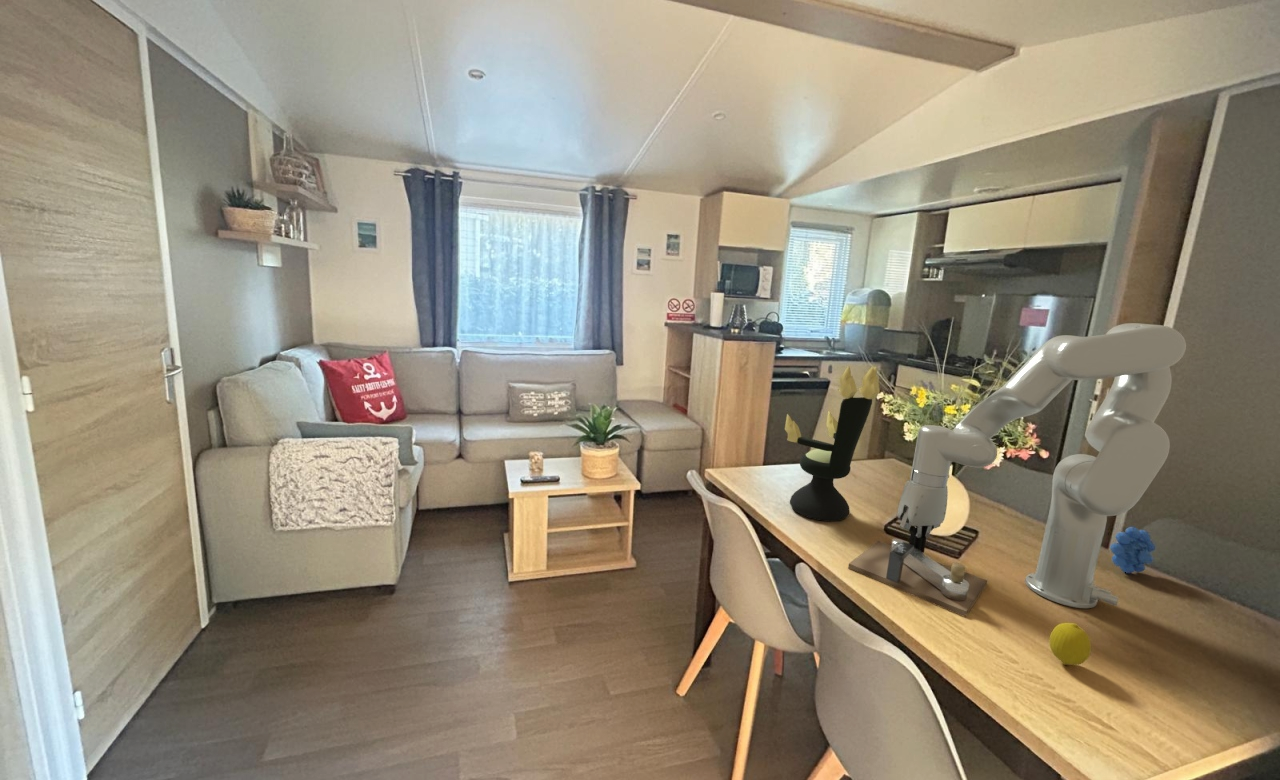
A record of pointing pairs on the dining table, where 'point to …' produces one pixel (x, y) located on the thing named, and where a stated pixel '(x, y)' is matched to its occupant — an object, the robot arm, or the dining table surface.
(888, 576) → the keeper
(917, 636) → the dining table surface
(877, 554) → the base board
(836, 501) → the black toy throne
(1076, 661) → the lemon
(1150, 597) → the dining table surface
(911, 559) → the bolt
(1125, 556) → the grapes
